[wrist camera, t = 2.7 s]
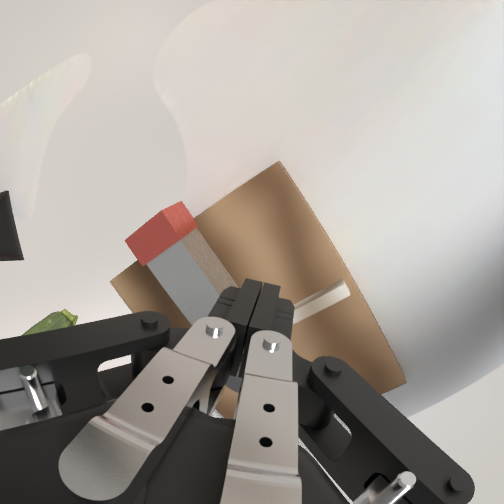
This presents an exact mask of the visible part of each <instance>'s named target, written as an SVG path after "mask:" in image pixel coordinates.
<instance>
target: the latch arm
mask: <svg viewBox="0 0 504 504" xmlns="http://www.w3.org/2000/svg"><path fill="white" fill-rule="evenodd" d="M196 227H198V224H197V223H196V221H195V220H194V218H193V217H192V215H191V214H190V213H189V211H188V210H187V208H186V207H185V205H184V204H183V202H182V201H180V202H178V203H176V204H174V205H172V206H170V207H168V208H166V209H164V210H161V211H160V212H159V213H158V214H156V215H155V216H154V217H153V218H152V219H150V220H149V221H148V222H146V223H145V224H144V225H143V226H142V227H140V228H139V229H138V230H137V231H135V232H134V233H133V234H132V235H131V236H129V237H128V238H127V239H126V240H125V242H126V243H127V245H128V246H129V248H130V249H131V251H132V252H133V254H134V255H135V256H136V258H137V259H138V261H139V262H140V264H141V265H142V266H144V265H146V264H147V266H148V267H149V269H150V270H151V271H152V273H153V274H154V276H155V277H156V278H157V280H158V281H159V282H160V284H161V285H162V287H163V288H164V289H165V291H166V292H167V293H168V295H169V296H170V297H171V299H172V300H173V301H174V303H175V304H176V305H177V306H178V308H179V309H180V310H181V312H182V313H183V314H184V316H185V317H186V318H187V319H188V321H189V322H190V323H191V325H192V326H193V324H194V323H195V322H196V321H197V320H198V319H200V318H203V317H207V316H208V315H209V313H210V311H211V310H212V308H213V306H214V305H215V303H216V301H217V300H218V298H219V296H220V294H221V293H222V291H223V290H224V289H226V288H228V287H230V286H233V287H237V288H239V287H238V286H237V284H236V283H235V281H234V280H233V279H232V277H231V276H230V274H229V273H228V272H227V270H226V269H225V267H224V266H223V265H222V263H221V262H220V260H219V259H218V258H217V256H216V255H215V253H214V252H213V250H212V249H211V248H210V246H209V245H208V243H207V242H206V240H205V239H204V238H203V236H202V235H201V233H200V232H199V230H198V229H197V228H196ZM240 365H241V364H240ZM239 370H240V367H239ZM239 370H238V373H237V376H236V377H235V376H231V375H230V376H229V379H228V381H227V383H226V384H225V386H227V387H228V388H229V389H231V390H233V391H234V392H237V393H239V389H240V385H241V380H242V378H239V377H238V375H239Z"/></svg>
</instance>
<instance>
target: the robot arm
mask: <svg viewBox="0 0 504 504" xmlns="http://www.w3.org/2000/svg"><path fill="white" fill-rule="evenodd" d="M262 284H263V282H261V281H257V280H252V279H248V278H246V279H245V281H244V283H243V285H242V287H241V288H237V287H233V286H230V287H228V288H226V289H224V290H223V291H222V293H221V294H220V296H219V298H218V300H217V301H216V303H215V305H214V306H213V308H212V310H211V311H210V313H209V315H208V316H207V317H203V318H200V319H198V320H197V321H196V322H195V323H194V324H193V326H192V327H191V328H174V327H170V321H169V319H168V318H167V317H166V316H165V315H163V314H161V313H159V312H155V311H141V312H137V313H132V314H127V315H123V316H118V317H114V318H109V319H104V320H99V321H94V322H90V323H85V324H80V325H75V326H70V327H65V328H60V329H55V330H49V331H44V332H39V333H34V334H28V335H23V336H18V337H12V338H7V339H1V340H0V504H350V503H349V502H348V501H347V500H346V498H345V497H344V496H343V495H342V493H341V492H340V491H339V490H338V488H337V487H336V486H335V485H334V483H333V482H332V481H331V479H330V478H329V477H328V476H327V474H326V473H325V472H324V470H323V469H322V468H321V467H320V465H319V464H318V463H317V461H316V460H315V459H314V458H313V457H312V456H311V455H310V454H309V453H308V452H307V451H306V450H305V449H304V448H302V447H301V446H299V445H298V437H299V438H300V439H301V441H302V442H303V443H304V444H305V446H306V447H307V448H308V449H309V451H310V452H311V453H312V454H313V455H314V457H315V458H316V459H317V460H318V462H319V463H320V464H321V465H322V466H323V468H324V469H325V470H326V471H327V472H328V474H329V475H330V476H331V477H332V478H333V480H335V482H336V483H337V484H338V485H339V486H340V488H341V489H342V490H343V491H344V492H345V493H346V494H347V496H348V497H349V498H350V499H351V500H352V501H353V504H467V503H468V502H469V501H470V500H471V499H472V497H473V495H474V491H475V486H474V482H473V480H472V478H471V476H470V475H469V474H468V473H467V472H466V471H465V470H464V469H462V468H461V467H460V466H459V465H458V464H457V463H456V462H454V460H452V459H451V458H450V457H449V456H448V455H447V454H446V453H445V452H444V451H442V450H441V449H440V448H439V447H438V446H437V445H436V444H435V443H433V442H432V441H431V440H430V439H429V438H428V437H427V436H426V435H425V434H423V433H422V432H421V431H420V430H419V429H418V428H417V427H416V426H415V425H414V424H412V423H411V422H410V421H409V420H408V419H407V418H406V417H405V416H404V415H403V414H401V413H400V412H399V411H398V410H397V409H396V408H395V407H394V406H393V405H392V404H391V403H389V402H388V401H387V400H386V399H385V398H384V397H383V396H382V395H381V394H380V393H379V392H377V391H376V390H375V389H374V388H373V387H372V386H371V385H370V384H369V383H368V382H367V381H366V380H364V379H363V378H362V377H361V376H360V375H359V374H358V373H357V372H356V371H355V370H354V369H353V368H352V367H350V366H349V365H348V364H347V363H346V362H344V361H343V360H341V359H339V358H336V357H332V356H321V357H318V358H316V359H315V360H314V361H313V362H311V361H308V360H306V359H304V358H302V357H300V356H299V355H298V354H296V353H295V352H294V350H293V349H292V343H291V334H292V326H293V318H294V310H295V307H294V305H293V303H292V302H291V300H288V299H284V298H279V292H280V288H281V286H278V285H274V284H270V283H265V282H264V284H263V287H262ZM261 289H262V290H261ZM126 355H131V363H130V364H126V365H123V366H119V367H115V368H111V369H108V370H104V371H100V372H98V371H97V370H98V367H99V365H100V364H102V363H103V362H105V361H108V360H112V359H115V358H119V357H123V356H126ZM240 364H241V365H240ZM239 367H240V370H239ZM238 370H239V375H238V377H239V378H242V380H241V385H240V389H239V393H238V398H237V403H236V408H235V413H234V418H233V419H224V418H214V417H211V415H212V413H213V411H214V410H215V408H216V406H217V404H218V402H219V400H220V398H221V396H222V394H223V392H224V389H225V384H226V383H227V381H228V379H229V376H230V375H231V376H235V377H236V376H237V373H238ZM334 413H335V414H336V415H337V416H338V417H339V418H340V419H341V420H342V421H343V422H344V423H345V424H346V425H347V426H348V428H349V429H350V431H351V435H352V436H351V435H350V434H349V433H348V431H347V430H346V429H345V428H344V427H343V426H342V425H341V424H340V423H339V422H338V421H337V420H336V419H335V417H334V416H333V415H334Z"/></svg>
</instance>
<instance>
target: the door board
mask: <svg viewBox="0 0 504 504" xmlns="http://www.w3.org/2000/svg"><path fill="white" fill-rule="evenodd" d="M194 220H195V221H196V223H197V224H198V227H196V228H197V229H198V230H199V232H200V233H201V235H202V236H203V238H204V239H205V240H206V242H207V243H208V245H209V246H210V248H211V249H212V250H213V252H214V253H215V255H216V256H217V258H218V259H219V260H220V262H221V263H222V265H223V266H224V267H225V269H226V270H227V272H228V273H229V274H230V276H231V277H232V279H233V280H234V281H235V283H236V284H237V286H238V287H239V288H241V287H242V285H243V283H244V281H245V279H246V278H248V279H252V280H257V281H261V282H263V284H264V282H265V283H270V284H274V285H278V286H281V288H280V292H279V298H284V299H288V300H291V302H292V303H293V305H294V307H295V310H294V318H293V326H292V334H291V343H292V349H293V350H294V352H295V353H296V354H298V355H299V356H300V357H302V358H304V359H306V360H308V361H311V362H313V361H314V360H315V359H316V358H318V357H321V356H332V357H336V358H339V359H341V360H343V361H344V362H346V363H347V364H348V365H349V366H350V367H352V368H353V369H354V370H355V371H356V372H357V373H358V374H359V375H360V376H361V377H362V378H363V379H364V380H366V381H367V382H368V383H369V384H370V385H371V386H372V387H373V388H374V389H375V390H376V391H377V392H379V393H380V394H383V393H385V392H388V391H390V390H392V389H394V388H396V387H399V386H401V385H403V384H405V383H406V380H405V376H404V373H403V371H402V369H401V367H400V365H399V363H398V361H397V359H396V357H395V355H394V353H393V351H392V349H391V348H390V346H389V344H388V342H387V340H386V338H385V336H384V334H383V332H382V330H381V328H380V327H379V325H378V323H377V321H376V319H375V317H374V315H373V314H372V312H371V310H370V308H369V306H368V304H367V303H366V301H365V299H364V297H363V295H362V294H361V292H360V290H359V288H358V286H357V285H356V283H355V281H354V279H353V278H352V276H351V274H350V272H349V271H348V269H347V267H346V266H345V264H344V262H343V260H342V259H341V257H340V255H339V254H338V252H337V250H336V249H335V247H334V245H333V244H332V242H331V240H330V239H329V237H328V235H327V234H326V232H325V230H324V229H323V227H322V226H321V224H320V222H319V221H318V219H317V217H316V216H315V214H314V213H313V211H312V210H311V208H310V206H309V205H308V203H307V202H306V200H305V198H304V197H303V195H302V194H301V192H300V191H299V189H298V188H297V186H296V185H295V183H294V182H293V180H292V178H291V177H290V175H289V174H288V172H287V171H286V169H285V168H284V166H283V165H282V163H281V162H280V161H278V162H277V163H275V164H274V165H272V166H270V167H269V168H267V169H266V170H264V171H263V172H261V173H260V174H258V175H257V176H255V177H254V178H252V179H251V180H249V181H248V182H246V183H245V184H243V185H242V186H240V187H239V188H237V189H236V190H234V191H233V192H231V193H230V194H229V195H227V196H226V197H224V198H223V199H221V200H220V201H218V202H217V203H215V204H214V205H213V206H211V207H210V208H208V209H207V210H205V211H204V212H203V213H201V214H200V215H198V216H197V217H196V218H194ZM110 283H111V284H112V285H113V287H114V288H115V289H116V291H117V292H118V294H119V295H120V296H121V298H122V299H123V301H124V302H125V303H126V304H127V306H128V307H129V309H130V310H131V311H132V312H133V313H137V312H141V311H155V312H159V313H161V314H163V315H165V316H166V317H167V318H168V319H169V321H170V327H174V328H191V327H192V325H191V323H190V322H189V321H188V319H187V318H186V317H185V316H184V314H183V313H182V312H181V310H180V309H179V308H178V306H177V305H176V304H175V303H174V301H173V300H172V299H171V297H170V296H169V295H168V293H167V292H166V291H165V289H164V288H163V287H162V285H161V284H160V282H159V281H158V280H157V278H156V277H155V276H154V274H153V273H152V271H151V270H150V269H149V267H148V266H147V264H146V265H144V266H142V265H141V264H140V262H139V261H138V260H137V261H136V262H134V263H133V264H132V265H131V266H129V267H128V268H127V269H125V270H124V271H123V272H121V273H120V274H119V275H118V276H116V277H115V278H114V279H112V280H111V281H110ZM263 284H262V287H263ZM261 290H262V289H261ZM237 398H238V393H237V392H234V391H233V390H231V389H229V388H228V387H227V386H225V389H224V392H223V394H222V396H221V398H220V400H219V402H218V404H217V406H216V408H215V409H216V410H217V411H218V412H219V413H220V414H221V415H222V416H223V417H224V418H225V419H233V418H234V413H235V408H236V403H237Z"/></svg>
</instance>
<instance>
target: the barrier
mask: <svg viewBox="0 0 504 504" xmlns="http://www.w3.org/2000/svg"><path fill="white" fill-rule="evenodd" d="M16 260H24V257H23V253H22V250H21V246H20V242H19V238H18V234H17V229H16V225H15V221H14V216H13V213H12V208H11V202H10V197H9V191H4V192H1V193H0V261H16Z"/></svg>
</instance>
